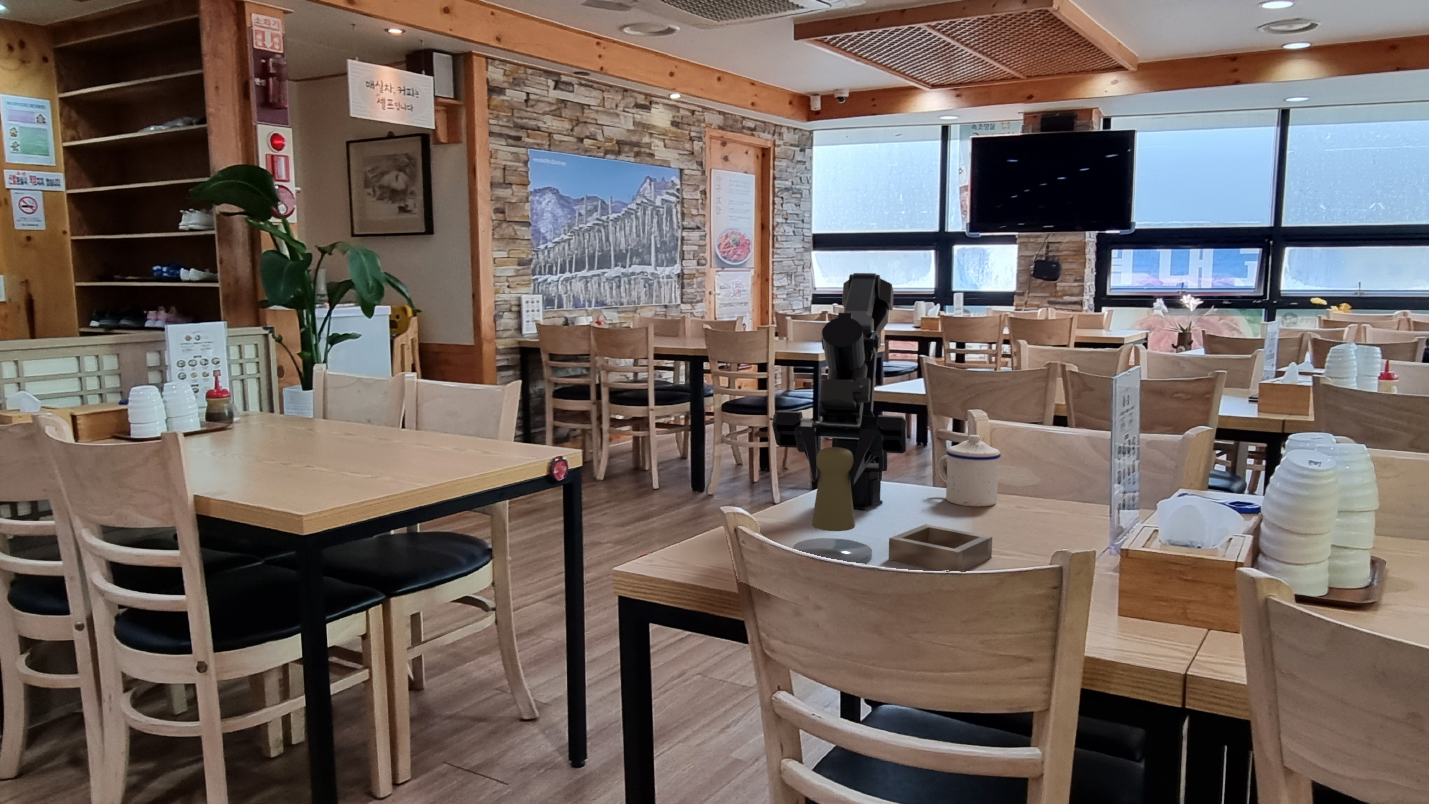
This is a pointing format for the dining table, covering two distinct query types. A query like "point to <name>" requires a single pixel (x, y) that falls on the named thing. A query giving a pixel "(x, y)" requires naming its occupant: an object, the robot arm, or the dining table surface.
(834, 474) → the olive game pawn
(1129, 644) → the dining table surface
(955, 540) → the walnut collar
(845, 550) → the slate coaster
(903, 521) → the dining table surface
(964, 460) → the teacup with lid
